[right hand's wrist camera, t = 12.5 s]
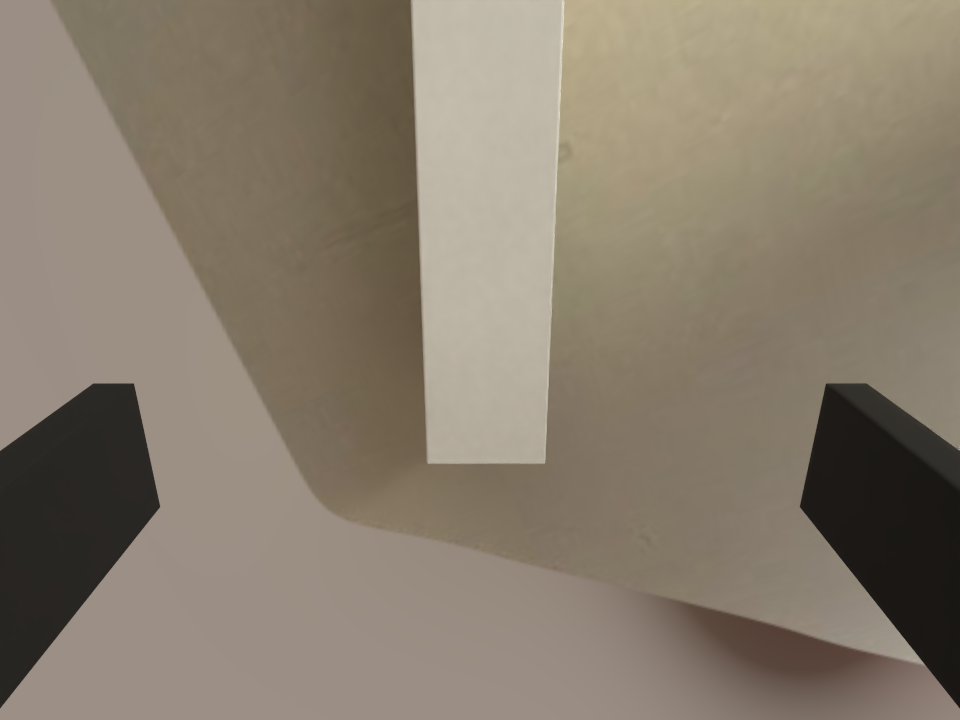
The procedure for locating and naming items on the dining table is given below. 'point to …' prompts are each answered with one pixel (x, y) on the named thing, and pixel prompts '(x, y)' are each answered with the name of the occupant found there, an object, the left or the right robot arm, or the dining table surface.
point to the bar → (486, 221)
